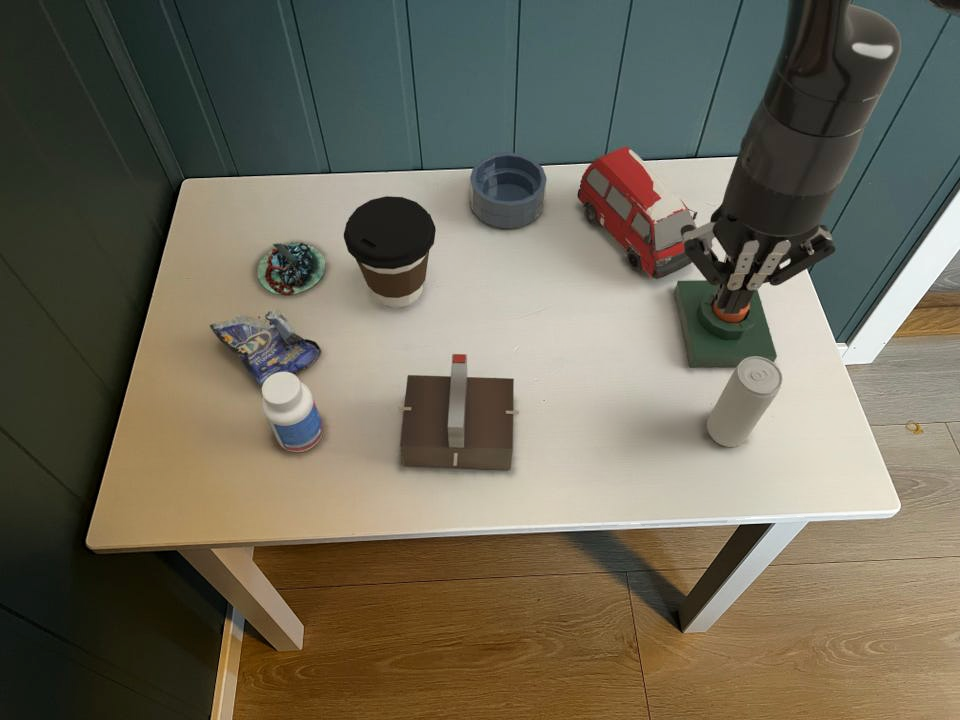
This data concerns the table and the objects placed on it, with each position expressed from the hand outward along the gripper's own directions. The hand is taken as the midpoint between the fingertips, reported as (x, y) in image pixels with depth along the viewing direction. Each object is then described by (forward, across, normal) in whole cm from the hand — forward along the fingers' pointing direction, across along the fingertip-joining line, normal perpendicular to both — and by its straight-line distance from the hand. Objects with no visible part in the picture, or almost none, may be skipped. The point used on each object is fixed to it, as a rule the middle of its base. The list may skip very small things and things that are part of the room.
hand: (728, 306), depth 68 cm
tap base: (+21, -26, -2) cm, 33 cm away
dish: (+20, -48, +23) cm, 57 cm away
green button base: (+21, +7, +14) cm, 26 cm away
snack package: (+21, -49, +9) cm, 54 cm away
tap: (+16, -25, -2) cm, 30 cm away
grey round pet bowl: (+20, -19, +35) cm, 45 cm away
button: (+17, +7, +14) cm, 23 cm away
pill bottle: (+21, -44, -2) cm, 49 cm away
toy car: (+21, -2, +29) cm, 36 cm away
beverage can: (+21, +5, -1) cm, 22 cm away
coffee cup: (+21, -34, +19) cm, 44 cm away
